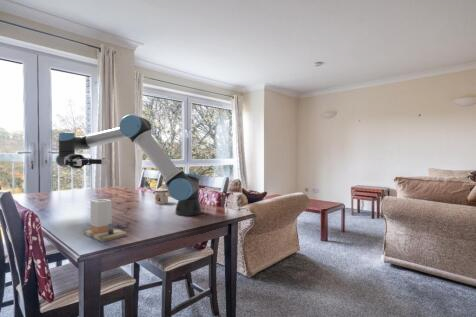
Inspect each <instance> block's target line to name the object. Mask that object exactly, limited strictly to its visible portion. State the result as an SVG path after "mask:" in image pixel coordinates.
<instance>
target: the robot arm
mask: <svg viewBox="0 0 476 317" xmlns="http://www.w3.org/2000/svg"><path fill="white" fill-rule="evenodd" d="M152 134H153V132H152V124H151V122H150V121H149V120H148V119H147V118H146V117H142V116H139V115H137V114H127V115H125V116H123V117H122V118H121V120H120V121H119V126H118V127H115V128H112V129H107V130H102V131H100V132H99V131H98V132H94V133H90V134H87V135H86V134H85V135H82V136H81V135H79V136H76V133H75V132H74V131H61V132H59V133H58V154H57V155H56V157H55V163H56V164H57V165H58V166H59V167H62V168H71V169H72V170H74V169H81V168H83V167H84V166H90V165H101V166H102V165H103V166H104V165H105V166H110V164H111V162H110V159H107V158H105V157H103V158H100V159H99V158H91V157H84V155H82V154H80V153H76V150H85V151H86V150H89V149H91V148H93V147H98V146H102V145H106V144H110V143H115V142H120V141H124V140H127V139H128V140H130V141H131V142H132V143H133V145H138V147H139V148H140V149H141V150H142V152H143V153H144V154H145V156H146V157H147V158H148V159H149V161H150V162H151V163H152V164H153V166H154V167H155V168H156V170H157V171H158V173H159V174H160V175H161V176H162V177H163V179H164V184H165V185H166V187H167V189H168V195H169V196H170V197H171V198H172V199H174V200H176V201H177V204H176V207H175V211H174V212H175V213H174V214H175V215H177V216H184V217H186V216H199V215H200V214H202V206H201V203H200V200H199V198H200V197H199V196H200V190H199V189H200V176H199V174H197V173H185V172H184V170H181V169H178V167H177V166H176V164H174V162H173V161H172V160H171V159H170V157H169V156H168V155H167V153H166V152H165V151H164V149H163V148H162V147H161V146H160V144H159V143H158V142H157V140H156V139H155V138H154V137H153V135H152Z"/></svg>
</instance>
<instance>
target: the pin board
mask: <svg viewBox="0 0 476 317" xmlns="http://www.w3.org/2000/svg"><path fill="white" fill-rule="evenodd" d="M83 235H85V236H88V237H90V238H93V239H95V240H97V241H99V242H102V243H105V242H109V241H112V240H116V239H119V238H124V237H127V231H125V230H124V231H123V230H121V229H117V228H114V227H113V234H108V231H105V232H101V233H96V232H93V231H91V228H90V229H85V230H84V231H83Z"/></svg>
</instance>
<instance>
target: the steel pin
mask: <svg viewBox="0 0 476 317" xmlns="http://www.w3.org/2000/svg"><path fill="white" fill-rule="evenodd" d="M113 228H114V223H113V222H112V223H110V224H108V234H113Z"/></svg>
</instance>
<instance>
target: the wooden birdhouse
mask: <svg viewBox="0 0 476 317" xmlns="http://www.w3.org/2000/svg"><path fill="white" fill-rule="evenodd" d="M168 190H169V188H165V187H164V186H162V185H161V186H160V187H158V188H156V189H155V190H154V202H155V204H157V205H165V203H166V204H168V203H169V191H168Z"/></svg>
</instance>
